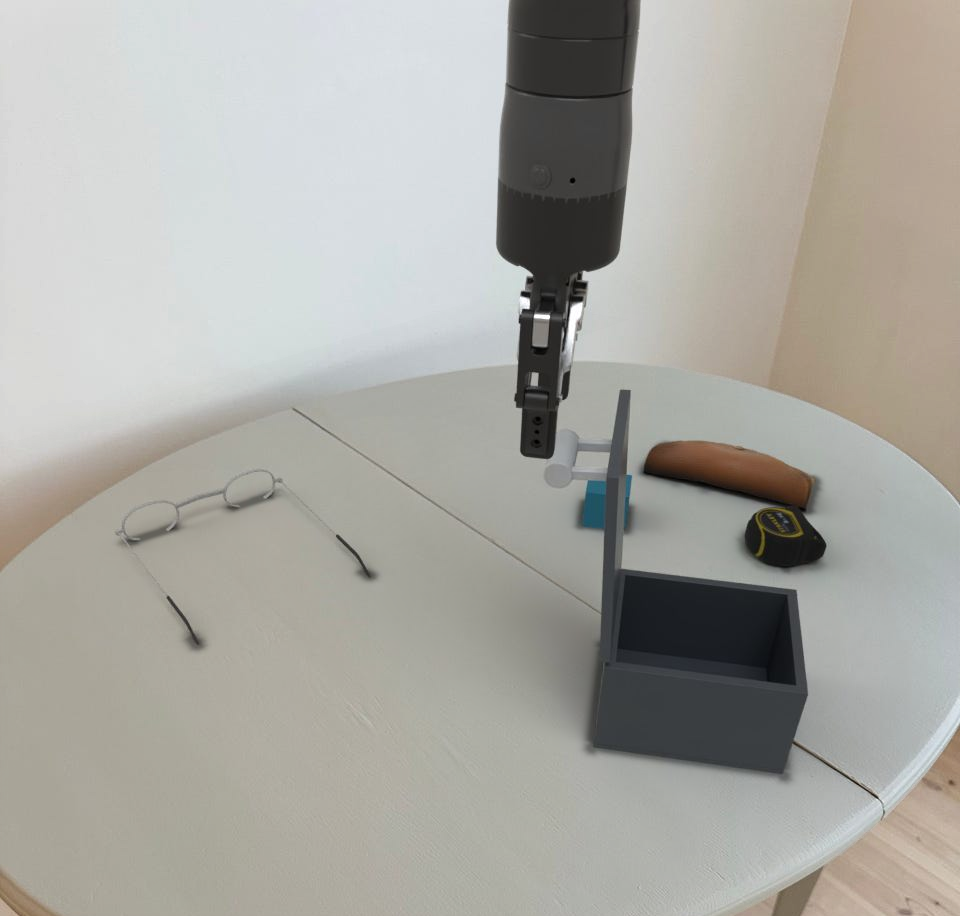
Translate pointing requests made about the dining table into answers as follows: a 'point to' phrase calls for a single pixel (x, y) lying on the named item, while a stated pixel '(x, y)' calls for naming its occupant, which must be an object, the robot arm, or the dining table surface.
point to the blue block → (600, 503)
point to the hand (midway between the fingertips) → (545, 425)
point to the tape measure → (783, 537)
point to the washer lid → (564, 471)
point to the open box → (703, 672)
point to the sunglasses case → (731, 470)
